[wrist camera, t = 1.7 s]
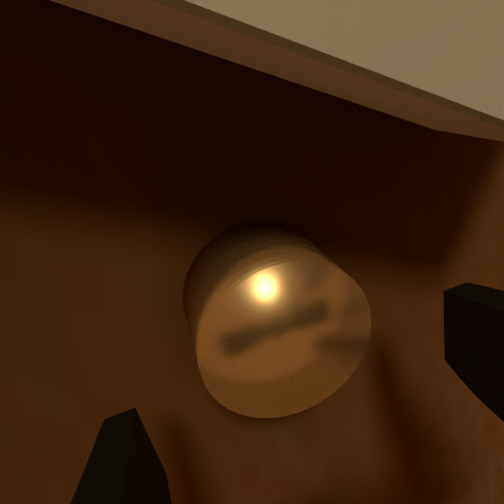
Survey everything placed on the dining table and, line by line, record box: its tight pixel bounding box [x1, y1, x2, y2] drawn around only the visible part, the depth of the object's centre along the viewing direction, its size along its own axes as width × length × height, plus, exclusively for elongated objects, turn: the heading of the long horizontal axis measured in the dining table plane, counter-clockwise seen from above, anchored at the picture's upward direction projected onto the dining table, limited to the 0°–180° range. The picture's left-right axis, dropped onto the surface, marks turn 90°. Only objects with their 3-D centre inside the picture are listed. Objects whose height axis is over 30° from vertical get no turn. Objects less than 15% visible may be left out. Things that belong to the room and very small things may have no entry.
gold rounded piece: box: [183, 222, 371, 418], centre depth 12 cm, size 4×4×3 cm
